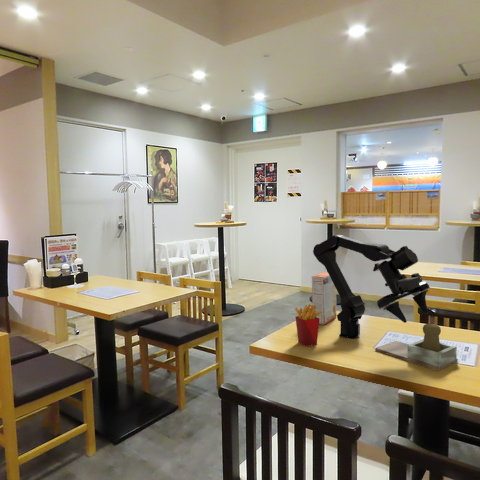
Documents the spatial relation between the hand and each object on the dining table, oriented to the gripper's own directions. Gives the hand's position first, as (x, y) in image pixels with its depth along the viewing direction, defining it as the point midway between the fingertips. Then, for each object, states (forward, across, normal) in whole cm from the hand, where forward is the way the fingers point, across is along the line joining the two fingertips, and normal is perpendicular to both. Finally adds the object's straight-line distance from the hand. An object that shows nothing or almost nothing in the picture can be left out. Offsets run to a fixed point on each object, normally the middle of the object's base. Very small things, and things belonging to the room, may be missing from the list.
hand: (416, 318), depth 133 cm
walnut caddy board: (+11, -4, +5) cm, 13 cm away
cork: (+13, -3, 0) cm, 13 cm away
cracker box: (-15, -8, +46) cm, 49 cm away
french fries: (-6, -29, +23) cm, 38 cm away
